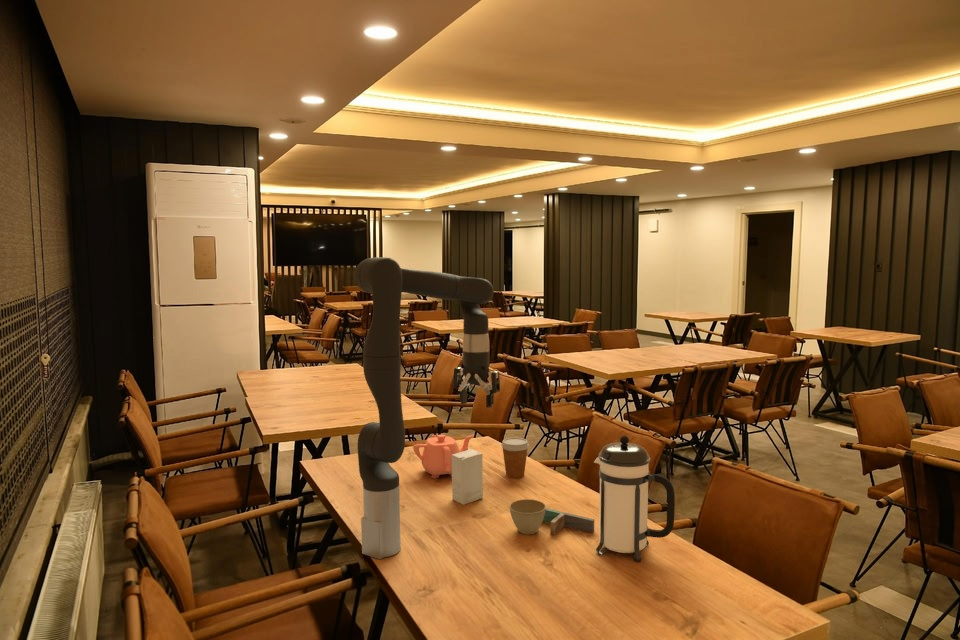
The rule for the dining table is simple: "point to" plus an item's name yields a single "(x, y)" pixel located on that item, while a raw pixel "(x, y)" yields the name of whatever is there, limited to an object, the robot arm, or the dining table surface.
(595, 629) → the dining table surface
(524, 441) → the disposable coffee cup
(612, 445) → the coffee press
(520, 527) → the flower pot
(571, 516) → the t-shaped slab assembly
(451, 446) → the teapot
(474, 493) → the skincare box
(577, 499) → the dining table surface
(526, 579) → the dining table surface
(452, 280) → the robot arm
